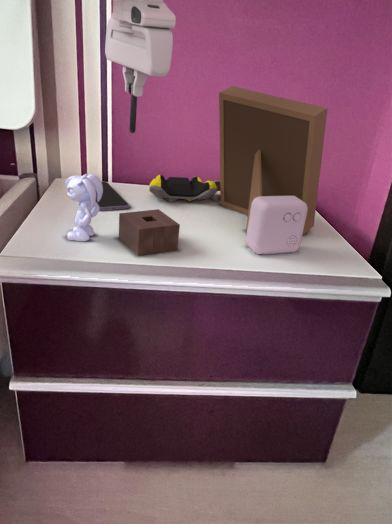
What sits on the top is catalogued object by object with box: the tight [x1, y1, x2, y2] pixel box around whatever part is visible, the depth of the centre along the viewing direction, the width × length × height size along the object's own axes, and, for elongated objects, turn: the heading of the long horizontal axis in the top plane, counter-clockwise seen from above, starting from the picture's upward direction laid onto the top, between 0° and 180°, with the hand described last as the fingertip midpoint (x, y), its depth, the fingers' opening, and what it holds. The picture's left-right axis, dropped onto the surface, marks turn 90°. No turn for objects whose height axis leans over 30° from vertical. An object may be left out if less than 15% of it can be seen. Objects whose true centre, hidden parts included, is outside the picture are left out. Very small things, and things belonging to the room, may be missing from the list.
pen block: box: [118, 208, 181, 257], centre depth 103 cm, size 8×8×5 cm
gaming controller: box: [148, 174, 218, 202], centre depth 127 cm, size 15×6×10 cm
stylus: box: [128, 69, 138, 134], centre depth 108 cm, size 1×1×14 cm
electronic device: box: [245, 196, 308, 255], centre depth 106 cm, size 10×5×10 cm, turn 111°
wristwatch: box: [210, 180, 220, 202], centre depth 132 cm, size 4×6×5 cm
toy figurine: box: [64, 173, 103, 242], centre depth 101 cm, size 7×6×12 cm
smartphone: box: [95, 180, 129, 211], centre depth 123 cm, size 7×1×15 cm
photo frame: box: [218, 85, 328, 236], centre depth 114 cm, size 15×22×25 cm
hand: (133, 94), depth 108 cm, fingers closed on stylus, 1 cm apart
